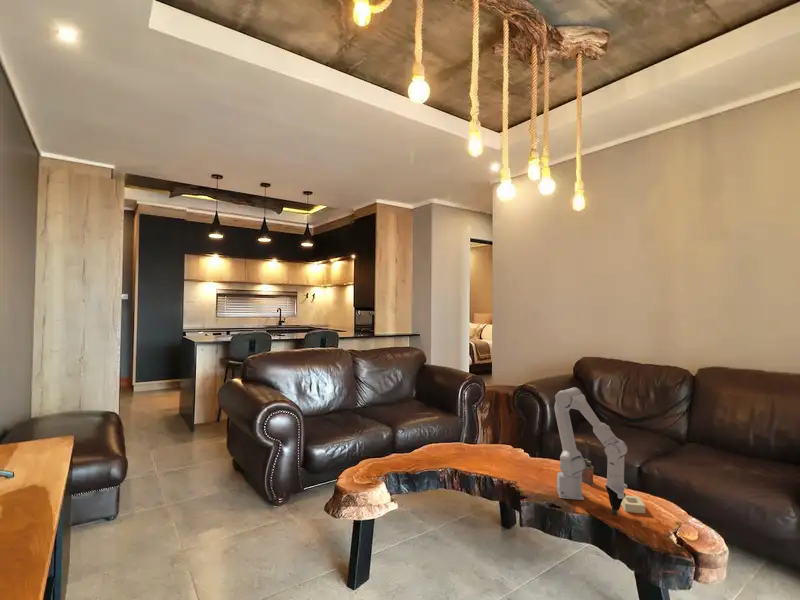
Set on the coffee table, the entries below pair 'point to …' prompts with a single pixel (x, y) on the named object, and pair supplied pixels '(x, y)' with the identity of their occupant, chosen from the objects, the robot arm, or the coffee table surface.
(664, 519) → the coffee table surface
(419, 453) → the coffee table surface
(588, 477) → the lighter
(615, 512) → the metal peg
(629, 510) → the block with square hole
